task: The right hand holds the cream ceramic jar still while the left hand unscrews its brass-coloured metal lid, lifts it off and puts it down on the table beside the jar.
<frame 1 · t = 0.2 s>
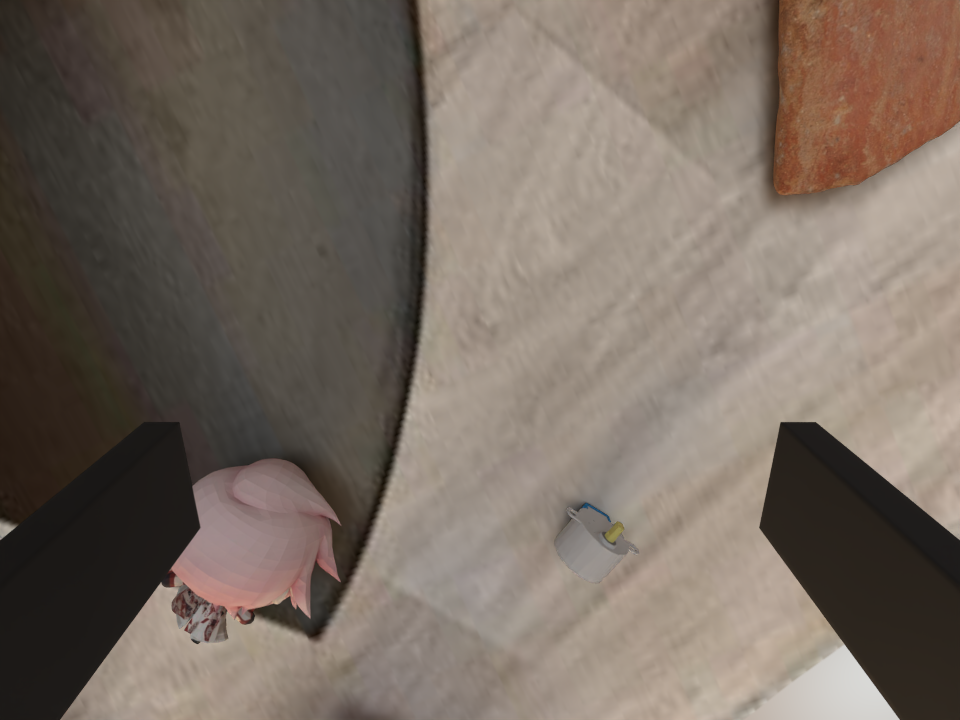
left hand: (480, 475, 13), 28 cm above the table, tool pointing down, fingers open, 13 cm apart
ceramic shard: (887, 53, 35), on the table
toy 2: (277, 513, 46), on the table
electric motor: (590, 514, 46), on the table
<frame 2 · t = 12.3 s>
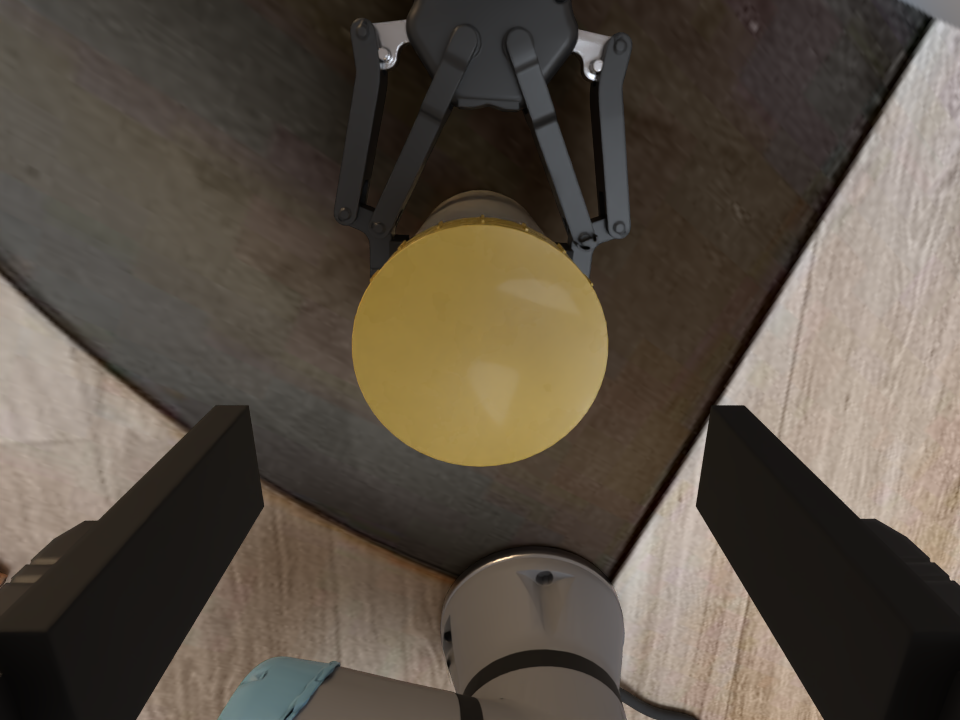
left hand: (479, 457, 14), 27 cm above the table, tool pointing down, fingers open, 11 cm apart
right hand: (476, 351, 34), fingers closed on jar, 8 cm apart
lid: (479, 351, 20), point 19 cm above the table, screwed on, not yet turned
jar: (479, 255, 38), on the table, touching right hand
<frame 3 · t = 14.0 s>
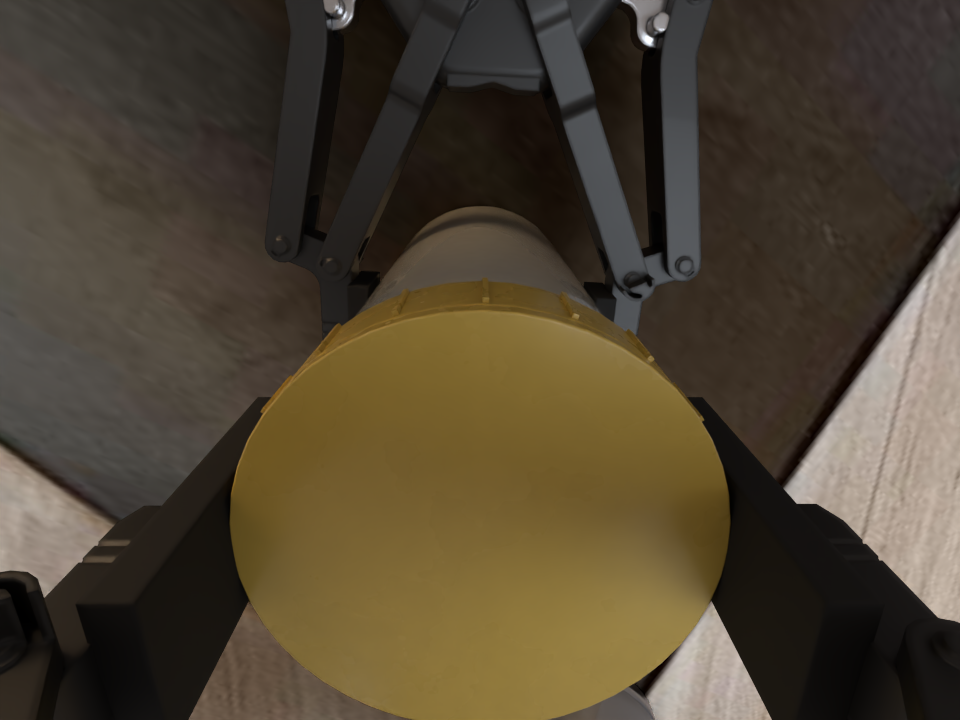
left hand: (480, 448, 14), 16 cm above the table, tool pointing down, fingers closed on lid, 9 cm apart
right hand: (474, 432, 25), fingers closed on jar, 8 cm apart
lid: (480, 538, 11), point 19 cm above the table, screwed on, not yet turned, touching left hand
jar: (480, 293, 29), on the table, touching right hand
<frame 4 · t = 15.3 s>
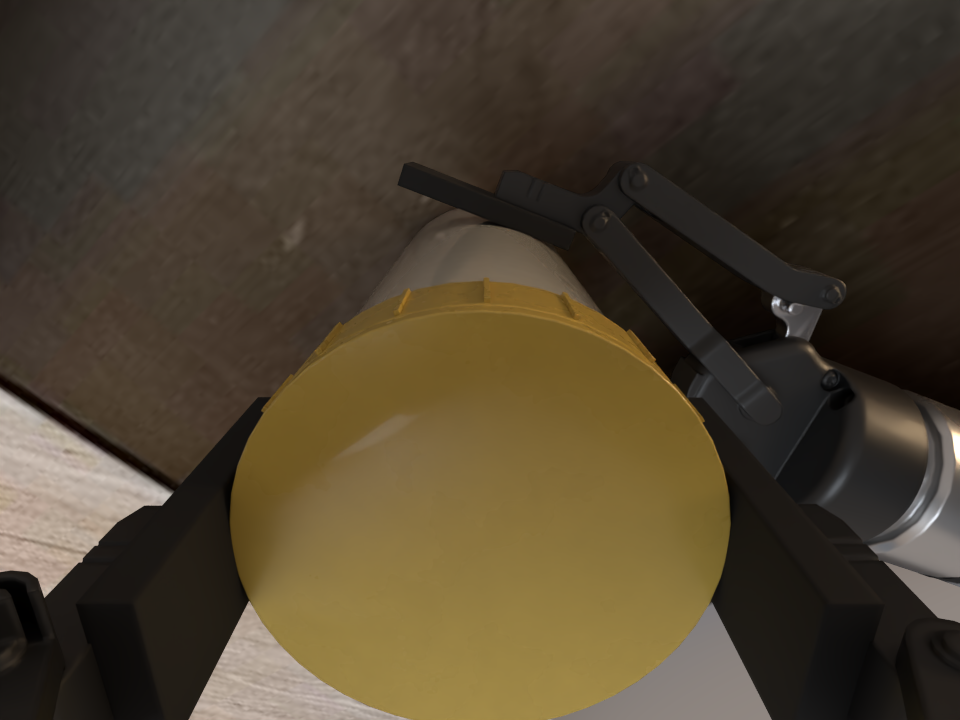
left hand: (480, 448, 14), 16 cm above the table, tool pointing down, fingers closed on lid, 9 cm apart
right hand: (369, 287, 23), fingers closed on jar, 8 cm apart
lid: (480, 538, 11), point 19 cm above the table, off its thread, touching left hand
jar: (480, 292, 29), on the table, touching right hand
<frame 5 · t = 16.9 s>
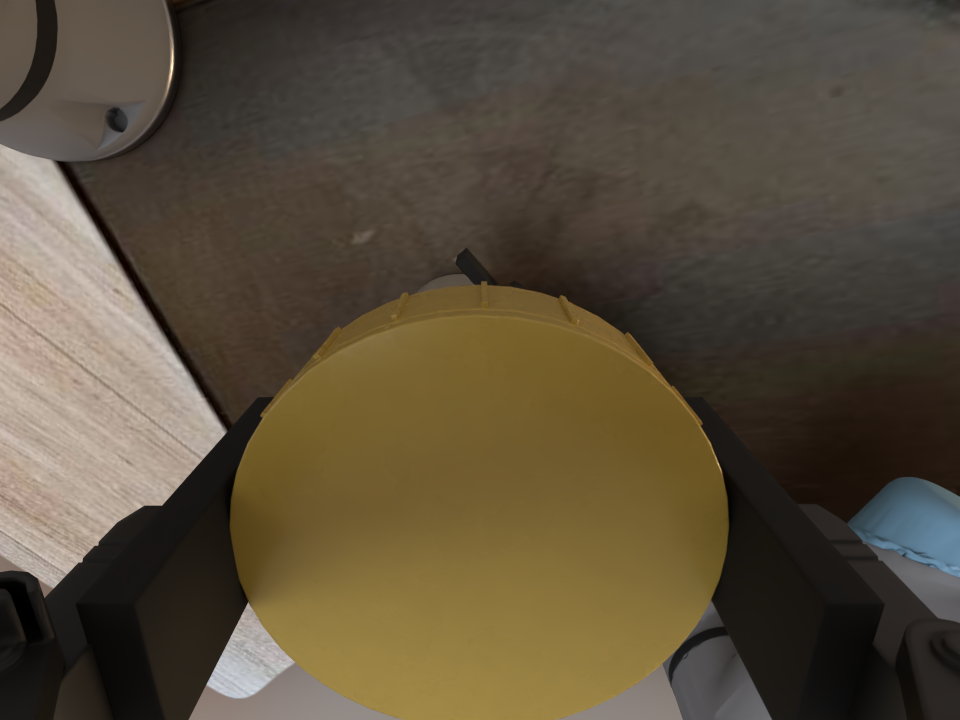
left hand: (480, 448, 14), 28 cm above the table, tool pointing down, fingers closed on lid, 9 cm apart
lid: (479, 541, 11), point 31 cm above the table, off its thread, touching left hand
jar: (459, 331, 42), on the table, touching right hand
when the left hand's fingers open (0 cm above the table, at t = 20.1 s): lid drops 2 cm, point 2 cm above the table.
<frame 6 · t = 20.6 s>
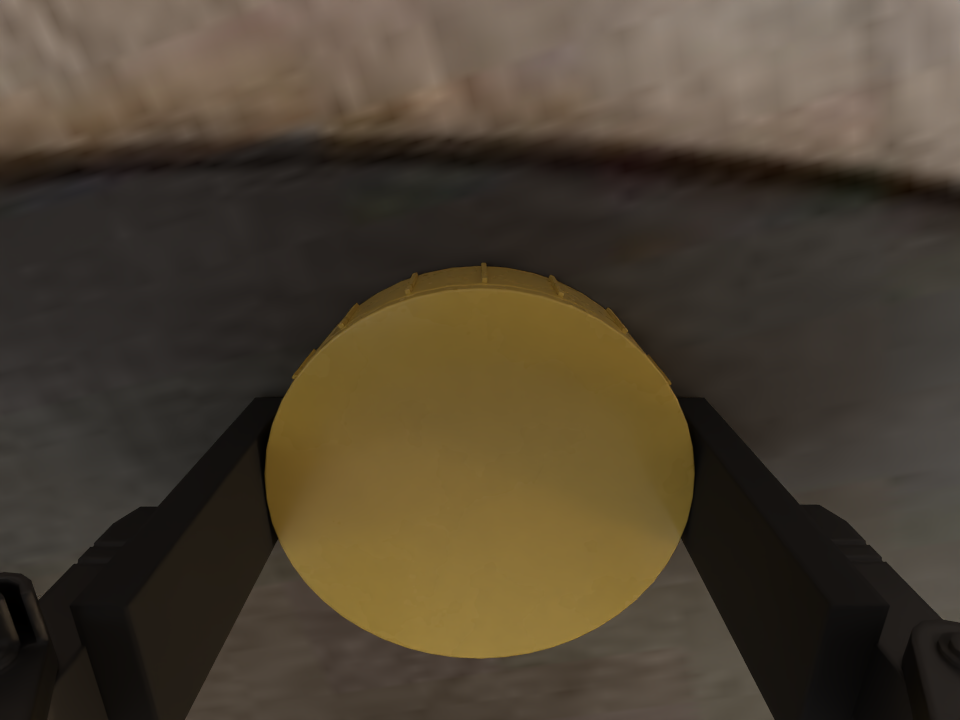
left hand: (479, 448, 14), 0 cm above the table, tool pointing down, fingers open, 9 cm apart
lid: (479, 488, 12), point 2 cm above the table, off its thread
when the right hand's fingers open (6 cm above the table, at t = 21.7 s): jar stays where it is, on the table.
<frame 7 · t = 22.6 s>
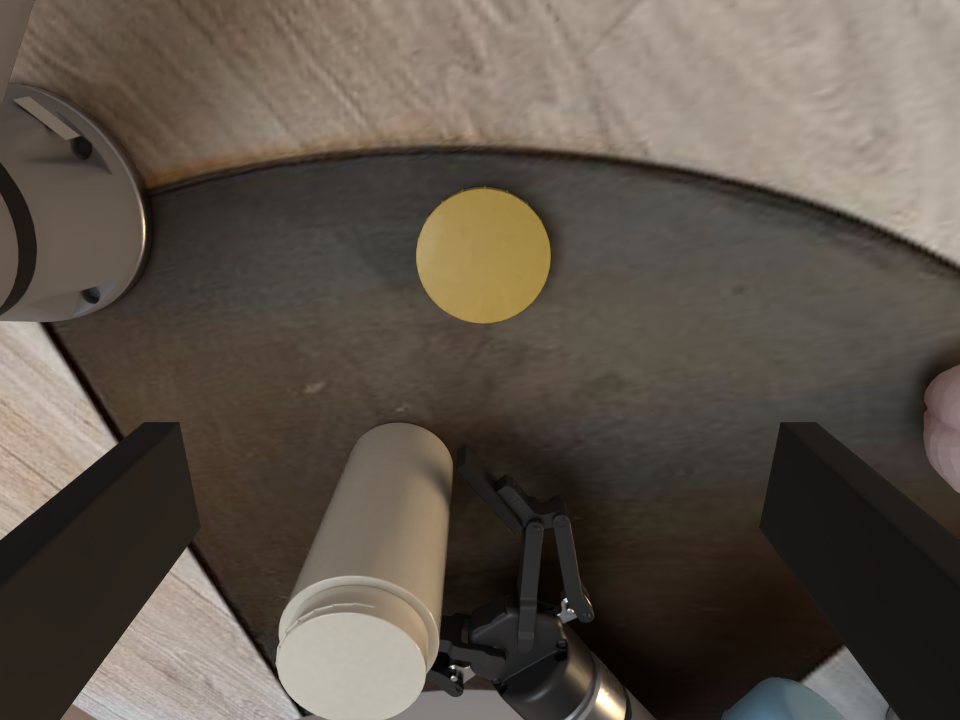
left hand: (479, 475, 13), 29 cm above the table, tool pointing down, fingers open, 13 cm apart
right hand: (385, 507, 41), fingers open, 13 cm apart
lid: (483, 257, 39), point 2 cm above the table, off its thread
jar: (401, 469, 46), on the table
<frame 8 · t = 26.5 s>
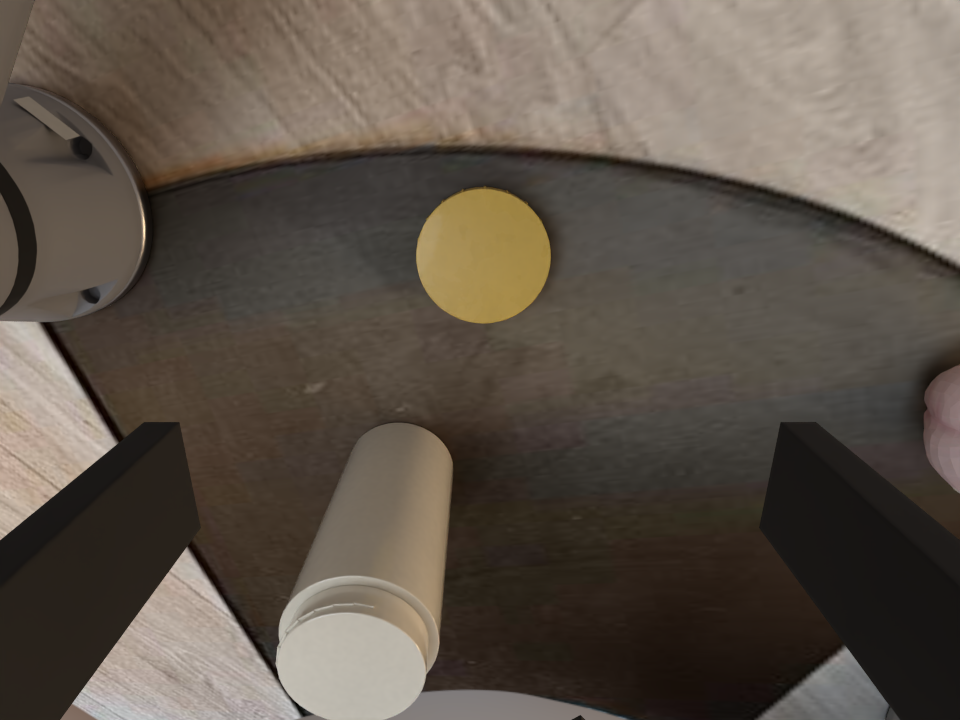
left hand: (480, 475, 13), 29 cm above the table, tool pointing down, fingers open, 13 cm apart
lid: (483, 257, 39), point 2 cm above the table, off its thread
jar: (401, 469, 46), on the table
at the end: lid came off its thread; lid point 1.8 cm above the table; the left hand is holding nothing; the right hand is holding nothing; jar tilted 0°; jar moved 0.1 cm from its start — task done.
